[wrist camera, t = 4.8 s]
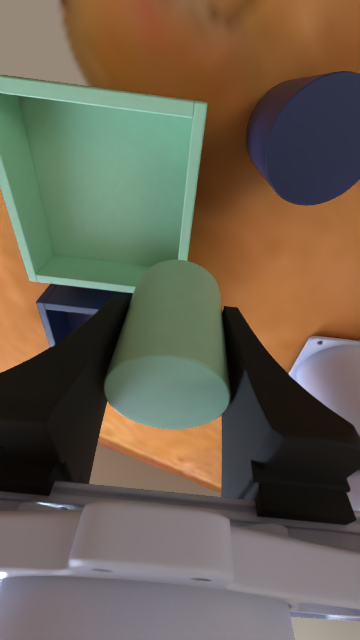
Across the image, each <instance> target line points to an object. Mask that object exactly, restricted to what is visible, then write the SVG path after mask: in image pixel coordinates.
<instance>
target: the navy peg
mask: <svg viewBox="0 0 360 640" xmlns="http://www.w3.org/2000/svg"><path fill="white" fill-rule="evenodd" d="M246 145H247V151H248V154H249V157H250V159H251V161H252V162H253V164H254V165H255V166H256V168H257V169H258V170H259V171H260V173H261V174H262V175H263V177H264V178H265V179H266V180H267V182H268V183H269V184H270V186H271V187H272V188H273V189H274V191H275V192H276V193H277V194H278V195H279V196H280V197H282V198H283V199H284V200H286V201H288V202H291V203H293V204H297V205H316V204H321V203H324V202H327V201H329V200H332V199H334V198H336V197H338V196H339V195H341V194H343V193H344V192H346V191H347V190H348V189H350V188H351V187H352V186H353V185H354V184H355V183H356V182H357V181H358V180H359V179H360V74H359V73H355V72H347V71H341V72H333V73H328V74H322V75H316V76H311V77H305V78H300V79H294V80H289V81H286V82H283V83H281V84H278V85H277V86H275V87H274V88H272V89H271V90H270V91H268V92H267V93H266V94H265V95H264V96H263V97H262V99H261V100H260V101H259V102H258V104H257V105H256V107H255V109H254V111H253V113H252V115H251V117H250V120H249V123H248V127H247V133H246Z"/></svg>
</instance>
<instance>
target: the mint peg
mask: <svg viewBox="0 0 360 640" xmlns="http://www.w3.org/2000/svg"><path fill="white" fill-rule="evenodd" d="M104 393H105V397H106V399H107V401H108V402H109V404H110V405H111V406H112V407H113V408H114V409H115V410H116V411H117V412H119V413H120V414H121V415H123V416H124V417H126V418H128V419H130V420H132V421H135V422H137V423H140V424H143V425H146V426H151V427H155V428H162V429H186V428H192V427H197V426H201V425H204V424H206V423H209V422H211V421H213V420H215V419H216V418H218V417H219V416H220V415H221V414H222V413H223V412H224V411H225V410H226V409H227V407H228V405H229V402H230V399H231V391H230V381H229V372H228V362H227V353H226V343H225V334H224V324H223V315H222V305H221V295H220V289H219V286H218V284H217V282H216V280H215V279H214V277H213V276H212V275H211V274H210V273H209V272H208V271H207V270H206V269H204V268H203V267H201V266H200V265H197V264H195V263H193V262H189V261H185V260H167V261H163V262H159V263H157V264H155V265H153V266H151V267H150V268H148V269H147V270H146V271H145V272H144V273H143V274H142V275H141V276H140V278H139V279H138V282H137V284H136V287H135V290H134V293H133V296H132V299H131V302H130V305H129V308H128V311H127V314H126V317H125V320H124V323H123V326H122V329H121V332H120V335H119V338H118V341H117V344H116V347H115V350H114V353H113V356H112V359H111V362H110V365H109V368H108V371H107V374H106V377H105V380H104Z"/></svg>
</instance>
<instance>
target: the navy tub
mask: <svg viewBox="0 0 360 640" xmlns="http://www.w3.org/2000/svg"><path fill="white" fill-rule="evenodd" d="M115 294H124V295H129V305H130V302H131V299H132V296H133V293H128V292H119V291H111V290H102V289H94V288H86V287H77V286H69V285H60V284H52V283H51V284H50V285H49V286H48V288H47V289H46V290H45V291H44V293H43V294H42V295H41V296H40V298H39V299H38V300H37V301H36V304H37V307H38V310H39V313H40V317H41V320H42V323H43V326H44V329H45V333H46V336H47V339H48V342H49V346H50V347H52V346H54V345H55V344H57V343H58V342H60V341H61V340H63V339H64V338H66V337H67V336H68V335H70V334H71V333H72V332H74V331H75V330H76V329H77V328H79V327H80V326H81V325H82V324H84V323H85V322H86V321H87V320H88V319H89V318H91V317H92V316H93V315H94V314H95V313H96V312H97V311H98V310H99V309H100V308H101V307H102V306H103V305H104V304H105V303H106V302H107V301H108V300H109V299H110V298H111V297H112V296H113V295H115Z"/></svg>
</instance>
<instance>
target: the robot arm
mask: <svg viewBox="0 0 360 640" xmlns="http://www.w3.org/2000/svg"><path fill="white" fill-rule="evenodd" d="M128 308H129V295H124V294H115V295H113V296H112V297H111V298H110V299H109V300H108V301H107V302H106V303H105V304H104V305H103V306H102V307H101V308H100V309H99V310H98V311H97V312H96V313H95V314H94V315H93V316H92V317H91V318H89V319H88V320H87V321H86V322H85V323H84V324H82V325H81V326H80V327H79V328H77V329H76V330H75V331H74V332H72V333H71V334H70V335H68V336H67V337H66V338H64V339H63V340H61V341H60V342H58V343H57V344H55V345H54V346H52V347H50V348H49V349H47V350H45V351H44V352H42V353H40V354H38V355H37V356H35V357H33V358H31V359H29V360H27V361H25V362H23V363H21V364H19V365H17V366H15V367H13V368H11V369H8V370H6V371H4V372H2V373H0V640H294V634H293V628H292V623H291V617H301V618H316V619H331V620H345V621H360V341H357V340H348V339H340V338H331V337H323V336H311V337H310V338H309V339H308V341H307V342H306V344H305V346H304V347H303V349H302V351H301V353H300V354H299V356H298V358H297V360H296V361H295V363H294V365H293V366H292V368H291V370H290V372H289V373H287V372H286V371H285V370H284V369H283V368H282V367H281V366H280V365H279V364H278V363H277V362H276V361H275V360H274V359H273V357H272V356H271V355H270V354H269V353H268V351H267V350H266V349H265V348H264V346H263V345H262V344H261V342H260V341H259V340H258V338H257V337H256V335H255V334H254V333H253V331H252V330H251V328H250V327H249V325H248V323H247V322H246V320H245V319H244V317H243V316H242V314H241V312H240V311H239V309H238V308H236V307H228V306H224V309H223V313H222V315H223V324H224V334H225V343H226V353H227V362H228V372H229V381H230V391H231V399H230V402H229V405H228V407H227V409H226V410H225V411H224V412H223V413H222V486H221V497H214V496H204V495H193V494H184V493H174V492H163V491H153V490H144V489H134V488H133V489H132V488H123V487H113V486H104V485H93V484H89V480H90V476H91V471H92V466H93V461H94V456H95V451H96V446H97V442H98V438H99V433H100V429H101V425H102V421H103V416H104V412H105V408H106V404H107V399H106V397H105V393H104V380H105V377H106V374H107V371H108V368H109V365H110V362H111V359H112V356H113V353H114V350H115V347H116V344H117V341H118V338H119V335H120V332H121V329H122V326H123V323H124V320H125V317H126V314H127V311H128ZM319 341H320V342H319Z"/></svg>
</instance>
